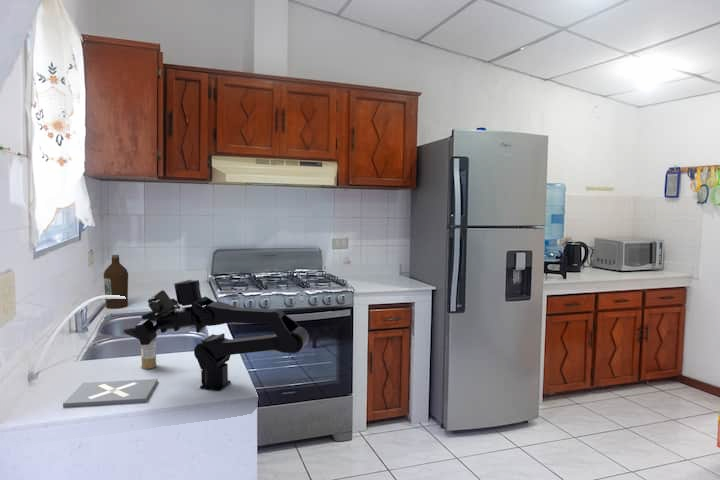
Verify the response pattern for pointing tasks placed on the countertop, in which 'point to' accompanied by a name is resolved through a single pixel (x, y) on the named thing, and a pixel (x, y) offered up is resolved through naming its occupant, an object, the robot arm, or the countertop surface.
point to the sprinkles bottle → (149, 355)
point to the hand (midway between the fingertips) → (133, 324)
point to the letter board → (111, 392)
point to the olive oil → (116, 283)
